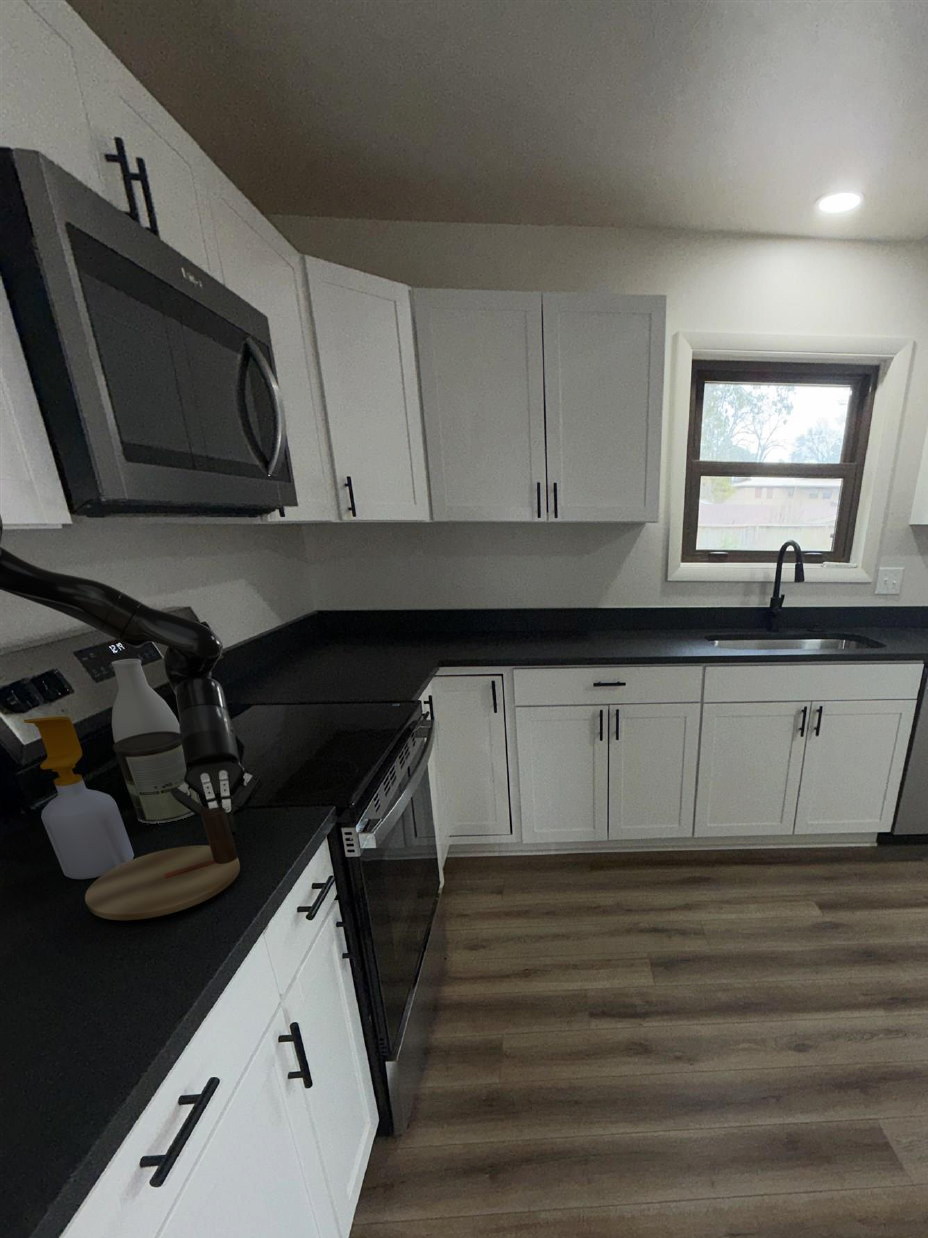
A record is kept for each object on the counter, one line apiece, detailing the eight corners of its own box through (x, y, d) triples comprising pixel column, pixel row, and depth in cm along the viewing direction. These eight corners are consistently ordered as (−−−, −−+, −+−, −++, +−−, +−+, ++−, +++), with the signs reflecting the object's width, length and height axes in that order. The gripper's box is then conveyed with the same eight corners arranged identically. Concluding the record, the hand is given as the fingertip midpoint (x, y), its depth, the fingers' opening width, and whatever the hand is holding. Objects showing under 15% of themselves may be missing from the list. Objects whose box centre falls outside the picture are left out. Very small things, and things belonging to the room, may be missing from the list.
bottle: (156, 803, 122) (114, 670, 111) (118, 793, 126) (74, 664, 115) (209, 781, 131) (175, 657, 120) (172, 773, 135) (136, 652, 124)
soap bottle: (56, 886, 95) (-9, 728, 85) (73, 858, 103) (15, 710, 92) (128, 873, 98) (73, 720, 88) (139, 847, 106) (90, 703, 96)
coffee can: (122, 822, 114) (96, 748, 108) (169, 798, 123) (147, 729, 117) (172, 827, 112) (148, 752, 106) (215, 803, 121) (195, 732, 116)
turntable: (60, 896, 90) (36, 839, 86) (193, 840, 105) (178, 790, 102) (133, 936, 82) (111, 876, 78) (267, 869, 97) (254, 816, 93)
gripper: (257, 743, 110) (276, 837, 105) (167, 756, 104) (183, 855, 99) (251, 723, 103) (271, 821, 98) (154, 735, 97) (171, 840, 93)
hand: (227, 838), depth 99 cm, fingers closed
